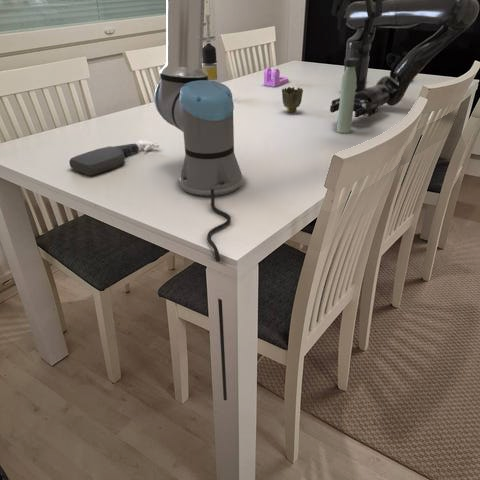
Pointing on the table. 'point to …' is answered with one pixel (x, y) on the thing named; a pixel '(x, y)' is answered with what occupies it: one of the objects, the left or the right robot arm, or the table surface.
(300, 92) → the cup
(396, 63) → the squiggle
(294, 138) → the table surface
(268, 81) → the bracket
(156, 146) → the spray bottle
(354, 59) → the cap
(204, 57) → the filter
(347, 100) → the bottle
